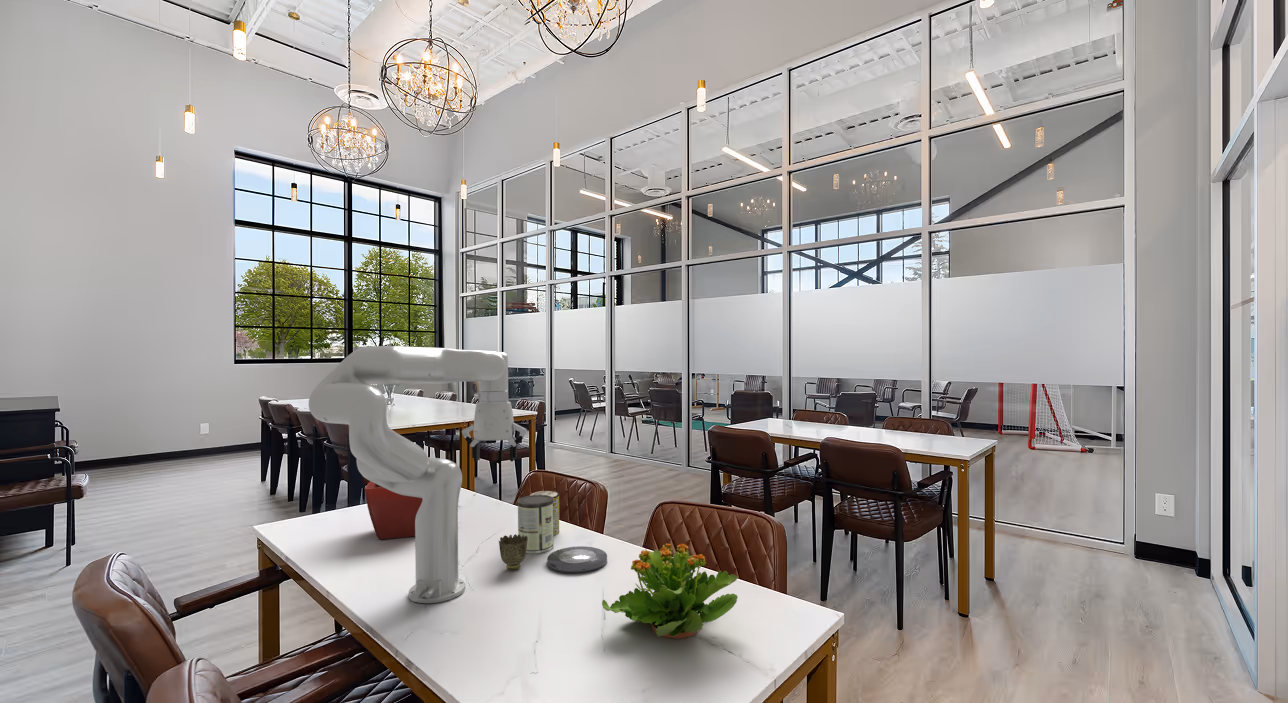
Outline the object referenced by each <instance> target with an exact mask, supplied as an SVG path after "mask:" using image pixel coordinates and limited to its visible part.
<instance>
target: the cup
mask: <svg viewBox="0 0 1288 703" xmlns="http://www.w3.org/2000/svg"><path fill="white" fill-rule="evenodd" d="M527 541H528V537H527V536H525V537H524V535H523V536H522V537H521V536H520V535H519V534H514V535H512V534H510V535H509V536H508V535H503V537H499V540H498V546H499V553H500V557H501V561H502V562H503V563H504V564H505V565H506V569H507V570H508V571H512V572H513V571H514V572H515V571H517V570H519V569H520V568H521V566H522V564H521V563H522V562H523V561H524V560H525V558H526V557H527V556H526V554H527V553H526V550H527Z"/></svg>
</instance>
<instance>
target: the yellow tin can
mask: <svg viewBox="0 0 1288 703" xmlns="http://www.w3.org/2000/svg"><path fill="white" fill-rule="evenodd" d="M531 495H547V496H551V497H553V536H554V537H555V536H557V535H558V534H560V493H559V492H557V491H554V490H542V491H541V490H540V491H536V492H532V493H530V495H529V496H531Z"/></svg>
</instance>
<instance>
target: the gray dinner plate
mask: <svg viewBox="0 0 1288 703" xmlns="http://www.w3.org/2000/svg"><path fill="white" fill-rule="evenodd" d="M546 558H547V559H546V564H547V567H548V569H549V570H551V571H553V572H556V573H560V574H565V575H570V574H571V575H579V574H587V573H592V572H595V571H597V570H600V569H602V568H604V567H605V566H606V565H607V564H608V554H607V552H606V551H604V550H603V549H600V548H598V547H595V546H593V547H592V546H579V545H578V546H569V547H564V548H560V549H557V550H554V551H552V552H551V553H550V554H548V556H547V557H546Z"/></svg>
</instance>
